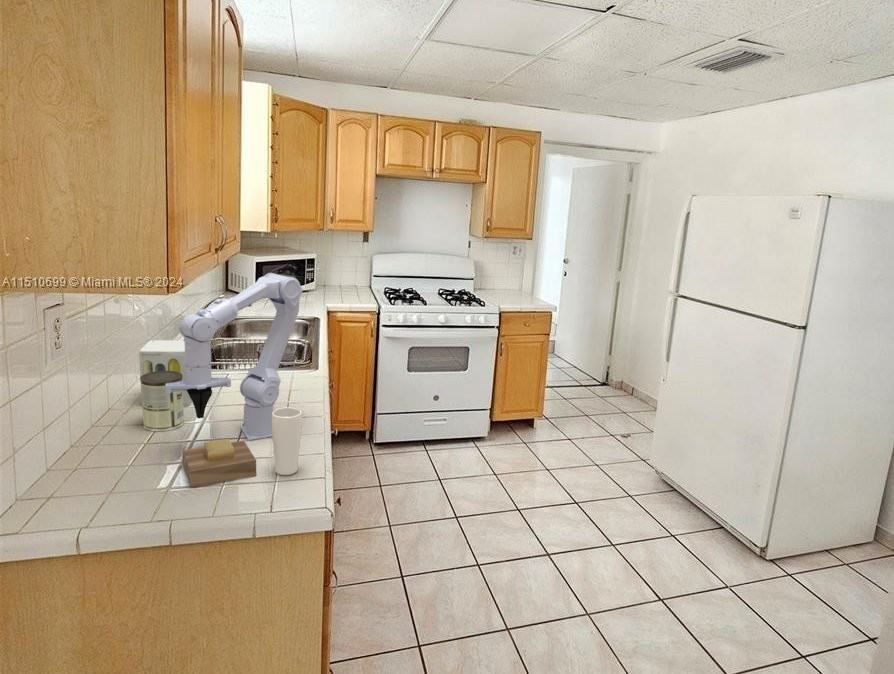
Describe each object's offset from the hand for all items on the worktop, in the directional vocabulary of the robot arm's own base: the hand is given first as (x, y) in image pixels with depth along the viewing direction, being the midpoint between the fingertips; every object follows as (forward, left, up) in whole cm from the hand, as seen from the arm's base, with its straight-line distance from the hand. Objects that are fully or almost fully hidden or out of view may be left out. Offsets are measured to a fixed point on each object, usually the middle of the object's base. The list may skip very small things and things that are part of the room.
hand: (200, 416), depth 140 cm
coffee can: (-22, -6, -10) cm, 25 cm away
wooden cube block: (+12, +2, -9) cm, 15 cm away
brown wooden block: (+12, +2, -9) cm, 15 cm away
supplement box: (-42, -2, -10) cm, 43 cm away
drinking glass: (+19, +16, -10) cm, 26 cm away
